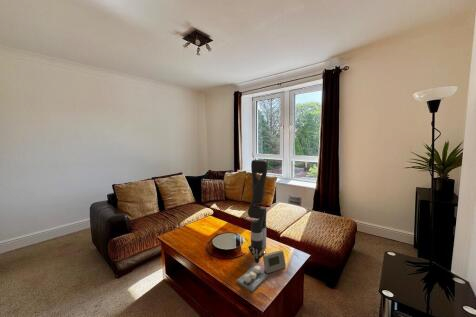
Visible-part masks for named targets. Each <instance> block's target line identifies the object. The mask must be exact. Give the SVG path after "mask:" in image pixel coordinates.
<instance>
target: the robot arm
mask: <svg viewBox="0 0 476 317" xmlns="http://www.w3.org/2000/svg"><path fill="white" fill-rule="evenodd" d="M250 166H251V169H250V170H251V178H252V182H251V183H252V185H251V186H252V187H251V189H252V190H251V191H252V192H251V193H252V194H251V195H252V196H251V201H250V205H249V207H248V208H247V209H248V210H247V215H248V217H249V218H251V219H254V220H252V221H251V223H250V245H248V246H247V248H248V251H249V252H250V254H251V256H253V259H254V263H255V264H259V262H260V260H261V258H263V256H264V255H267V252H266V251H265V249H267V208H266V206H259V205H260V204H263V203H264V202H263V201H264V198H265V194H266V187H265V185H266V179H267V174H268V168H269V167H268V161H267V160H266V159H253V160H251V164H250ZM258 174H261V177H260V178H259V176H258Z"/></svg>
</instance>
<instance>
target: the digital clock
mask: <svg viewBox="0 0 476 317" xmlns="http://www.w3.org/2000/svg"><path fill="white" fill-rule="evenodd" d="M285 259H286V258H285V253H284V250H283V249H281V250H277V251H273V252H269V253H266V254H265V255H264V256H262V261H263V267H264V271H265V272H264V273H265V274H270V273H273V272H276V271H279V270H282V269H284V268H285V267H287V264H286V260H285Z"/></svg>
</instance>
